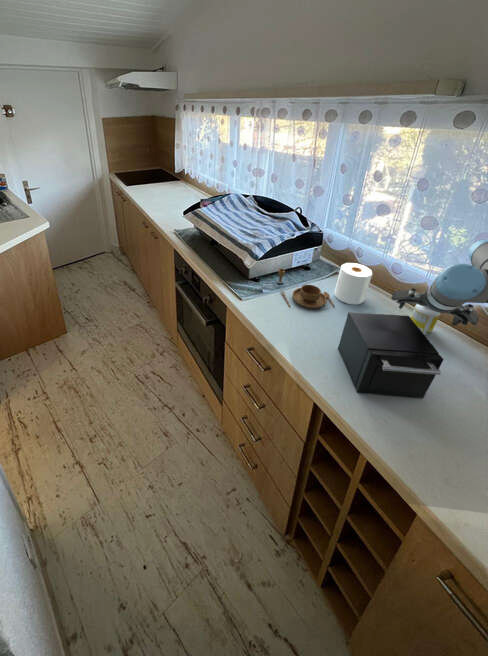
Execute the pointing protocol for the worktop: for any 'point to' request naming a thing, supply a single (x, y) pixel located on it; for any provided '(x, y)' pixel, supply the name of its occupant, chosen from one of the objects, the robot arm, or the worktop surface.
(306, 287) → the place setting
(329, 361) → the worktop surface
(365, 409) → the worktop surface
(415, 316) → the pill bottle
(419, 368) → the oven door
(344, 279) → the toilet paper
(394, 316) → the oven
